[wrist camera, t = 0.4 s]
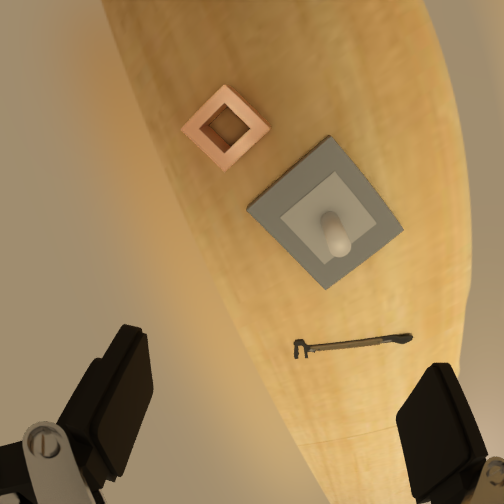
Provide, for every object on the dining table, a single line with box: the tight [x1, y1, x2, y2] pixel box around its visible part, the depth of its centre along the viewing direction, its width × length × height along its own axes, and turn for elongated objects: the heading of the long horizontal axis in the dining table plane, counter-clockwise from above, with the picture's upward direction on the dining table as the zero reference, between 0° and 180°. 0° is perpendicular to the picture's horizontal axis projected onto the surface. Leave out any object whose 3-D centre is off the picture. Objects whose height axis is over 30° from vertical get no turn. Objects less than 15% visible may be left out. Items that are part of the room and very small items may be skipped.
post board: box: [246, 135, 404, 290], centre depth 37 cm, size 16×14×10 cm
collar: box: [180, 84, 271, 172], centre depth 35 cm, size 7×7×5 cm
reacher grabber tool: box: [294, 335, 413, 359], centre depth 51 cm, size 21×7×1 cm, turn 95°
